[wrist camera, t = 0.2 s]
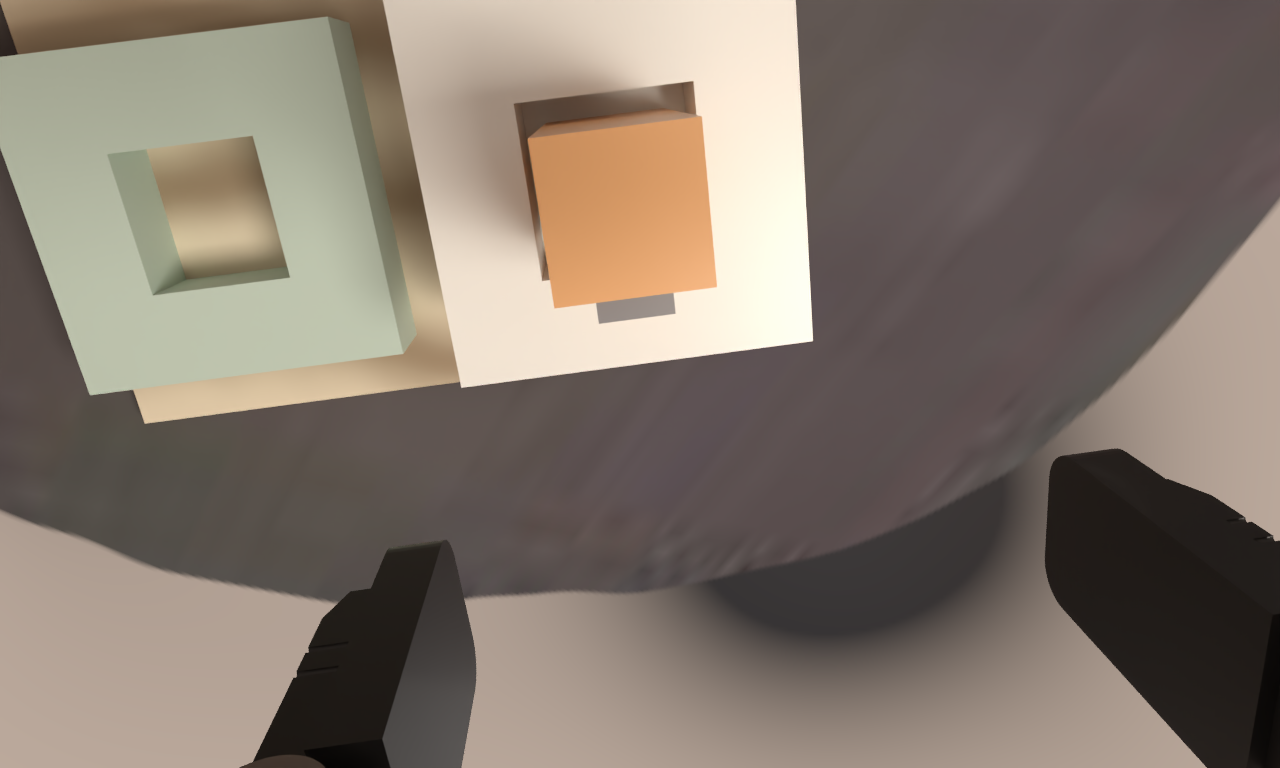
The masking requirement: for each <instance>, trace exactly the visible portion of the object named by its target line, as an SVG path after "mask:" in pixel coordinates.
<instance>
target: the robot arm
mask: <svg viewBox="0 0 1280 768" xmlns="http://www.w3.org/2000/svg"><path fill="white" fill-rule="evenodd" d="M1045 568H1046V574H1047V578H1048V582H1049V584H1050V588H1051V590H1052V592H1053V594H1054V596H1055V598H1056V600H1057V602H1058V603H1059V605H1060V606H1061V607H1062V608H1063V610H1064V611H1065V612H1066V613H1067V614H1068V615H1069V616H1070V617H1071V618H1072V620H1073V621H1074V622H1075V623H1076V624H1077V625H1078V626H1079V627H1080V628H1081V629H1082V631H1083V632H1084V633H1085V634H1086V635H1087V636H1088V637H1089V638H1090V639H1091V640H1092V641H1093V643H1094V644H1095V645H1096V646H1097V647H1098V648H1099V649H1100V650H1101V651H1102V652H1103V654H1104V655H1105V656H1106V657H1107V658H1108V659H1109V660H1110V661H1111V662H1112V664H1113V665H1114V666H1116V668H1117V669H1118V670H1119V671H1120V672H1121V673H1122V675H1124V677H1125V678H1126V679H1127V680H1128V681H1129V682H1130V683H1131V685H1133V687H1134V688H1135V689H1136V690H1137V691H1138V692H1139V693H1140V694H1141V695H1142V697H1143V698H1144V699H1145V700H1146V701H1147V702H1148V703H1149V704H1150V705H1151V707H1152V708H1153V709H1154V710H1155V711H1156V712H1157V713H1158V714H1159V715H1160V716H1161V718H1162V719H1163V720H1164V721H1165V722H1166V723H1167V724H1168V725H1169V726H1170V727H1171V729H1172V730H1173V731H1174V732H1175V733H1176V734H1177V735H1178V736H1179V737H1180V738H1181V740H1182V741H1183V742H1184V743H1185V744H1186V745H1187V746H1188V747H1189V748H1190V749H1191V751H1192V752H1193V753H1194V754H1195V755H1196V756H1197V757H1198V758H1199V759H1200V760H1201V762H1202V763H1203V764H1204V765H1205V766H1206V767H1207V768H1280V541H1274V539H1273V535H1271V534H1269V533H1268V532H1266V531H1265V530H1263V529H1262V528H1260V527H1259V526H1257V525H1256V524H1254V523H1253V522H1248V523H1247V522H1246V520H1245V517H1244V516H1242V515H1241V514H1239V513H1238V512H1236V511H1235V510H1233V509H1231V508H1230V507H1229V506H1227V505H1225V504H1224V503H1223V502H1221V501H1220V500H1218V499H1216V498H1215V497H1213V496H1212V495H1209V494H1207V493H1204V492H1201V491H1199V490H1196V489H1193V488H1191V487H1188V486H1185V485H1182V484H1180V483H1177V482H1174V481H1172V480H1169V479H1165V478H1163V477H1162V476H1160V475H1159V474H1157V473H1156V472H1155V471H1153V470H1152V469H1150V468H1149V467H1147V466H1146V465H1144V464H1143V463H1141V462H1140V461H1139V460H1137V459H1136V458H1134V457H1132V456H1131V455H1130V454H1128V453H1127V452H1125V451H1123V450H1121V449H1109V450H1101V451H1094V452H1087V453H1081V454H1072V455H1065V456H1060V457H1058V458H1057V459H1055V461H1054V462H1053V464H1052V466H1051V470H1050V476H1049V493H1048V511H1047V529H1046V547H1045ZM308 648H309V653H305V655H304V657H303V660H302V661H301V663H300V666H299V668H298V670H297V677H296V678H293V680H292V682H291V684H290V686H289V688H288V691H287V692H286V695H285V697H284V699H283V701H282V703H281V705H280V707H279V709H278V711H277V713H276V715H275V717H274V719H273V721H272V724H271V725H270V728H269V730H268V732H267V734H266V736H265V738H264V740H263V742H262V744H261V746H260V749H259V750H258V753H257V754H256V756H255V759H254V761H253V762H252V763H249V764H247V765H244V766H242V767H240V768H461V766H462V760H463V754H464V749H465V743H466V738H467V732H468V726H469V720H470V715H471V709H472V704H473V698H474V692H475V685H476V657H475V647H474V641H473V636H472V632H471V627H470V623H469V618H468V614H467V610H466V605H465V601H464V596H463V592H462V588H461V583H460V579H459V574H458V570H457V566H456V561H455V557H454V553H453V550H452V548H451V545H450V544H449V542H448V541H447V540H441V541H434V542H427V543H420V544H413V545H405V546H398V547H391V548H389V549H388V550H387V552H386V554H385V556H384V559H383V561H382V563H381V566H380V568H379V571H378V573H377V575H376V578H375V580H374V583H373V585H372V587H371V589H365V590H358V591H351V592H349V593H348V594H347V595H346V596H345V597H344V598H343V599H342V600H341V601H340V602H339V603H338V604H337V605H336V606H335V607H334V608H333V609H332V610H331V611H330V612H329V613H327V614H326V615H325V616H324V617H323V619H322V620H321V622H320V624H319V626H318V629H317V631H316V632H315V635H314V637H313V639H312V641H311V643H310V645H309V647H308Z"/></svg>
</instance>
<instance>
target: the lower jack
mask: <svg viewBox="0 0 1280 768" xmlns="http://www.w3.org/2000/svg"><path fill="white" fill-rule="evenodd" d="M247 136H253V139H254V142H255V146H256V150H257V154H258V158H259V161H260V165H261V169H262V173H263V177H264V180H265V184H266V188H267V192H268V195H269V199H270V203H271V207H272V211H273V214H274V218H275V222H276V226H277V230H278V233H279V237H280V241H281V245H282V249H283V252H284V256H285V260H286V264H287V267H279V268H272V269H264V270H256V271H248V272H241V273H233V274H225V275H218V276H210V277H202V278H194V279H187V280H186V277H185V274H184V271H183V267H182V264H181V261H180V258H179V254H178V251H177V248H176V245H175V241H174V238H173V235H172V232H171V228H170V225H169V222H168V219H167V215H166V212H165V209H164V205H163V202H162V199H161V196H160V192H159V189H158V186H157V183H156V179H155V176H154V173H153V170H152V166H151V163H150V160H149V157H148V153H147V150H146V149H152V148H160V147H168V146H176V145H184V144H192V143H200V142H207V141H215V140H223V139H231V138H239V137H247ZM0 149H1V151H2V154H3V157H4V160H5V162H6V165H7V168H8V171H9V173H10V176H11V179H12V182H13V184H14V187H15V190H16V193H17V195H18V198H19V201H20V204H21V206H22V209H23V212H24V215H25V217H26V220H27V223H28V226H29V228H30V231H31V234H32V237H33V239H34V242H35V245H36V248H37V250H38V253H39V256H40V259H41V261H42V264H43V267H44V270H45V272H46V275H47V278H48V281H49V283H50V286H51V289H52V292H53V294H54V297H55V300H56V303H57V306H58V308H59V311H60V314H61V317H62V319H63V322H64V325H65V328H66V330H67V333H68V336H69V339H70V341H71V344H72V347H73V350H74V352H75V355H76V358H77V361H78V363H79V366H80V369H81V372H82V374H83V377H84V380H85V383H86V385H87V388H88V391H89V394H90V395H95V394H103V393H111V392H118V391H126V390H133V389H141V388H149V387H156V386H164V385H171V384H179V383H187V382H194V381H202V380H209V379H217V378H224V377H232V376H240V375H247V374H255V373H262V372H270V371H278V370H285V369H293V368H300V367H308V366H316V365H323V364H331V363H338V362H346V361H353V360H361V359H369V358H376V357H384V356H391V355H399V354H404V352H405V351H406V349H407V348H408V346H409V345H410V343H411V342H412V341H413V339H414V338H415V336H416V335H417V333H416V328H415V324H414V319H413V314H412V310H411V305H410V301H409V296H408V291H407V287H406V282H405V277H404V273H403V268H402V264H401V259H400V254H399V250H398V245H397V241H396V236H395V231H394V227H393V222H392V218H391V213H390V208H389V204H388V199H387V195H386V190H385V185H384V181H383V176H382V171H381V167H380V162H379V158H378V153H377V148H376V144H375V139H374V135H373V130H372V125H371V121H370V116H369V112H368V107H367V102H366V98H365V93H364V88H363V84H362V79H361V75H360V70H359V65H358V61H357V56H356V52H355V47H354V42H353V38H352V33H351V29H350V24H349V23H348V22H345V21H341V20H338V19H334V18H331V17H320V18H312V19H303V20H295V21H287V22H279V23H271V24H263V25H255V26H247V27H239V28H231V29H222V30H214V31H206V32H198V33H190V34H182V35H174V36H166V37H158V38H149V39H141V40H133V41H125V42H117V43H109V44H101V45H93V46H85V47H77V48H69V49H60V50H52V51H44V52H36V53H28V54H20V55H12V56H4V57H0Z"/></svg>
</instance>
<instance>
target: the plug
mask: <svg viewBox="0 0 1280 768" xmlns="http://www.w3.org/2000/svg"><path fill="white" fill-rule="evenodd" d="M528 144H529V151H530V157H531V163H532V170H533V176H534V182H535V189H536V195H537V202H538V208H539V214H540V221H541V227H542V233H543V240H544V246H545V252H546V259H547V265H548V271H549V278H550V284H551V290H552V297H553V303H554V308H562V307H570V306H577V305H585V304H593V303H596V307H597V314H598V321H599V324H602V323H610V322H617V321H625V320H632V319H640V318H648V317H655V316H663V315H670V314H676V312H675V303H674V293H676V292H684V291H692V290H699V289H707V288H714V287H717V280H716V269H715V258H714V247H713V236H712V224H711V213H710V202H709V191H708V180H707V168H706V157H705V146H704V135H703V124H702V116H698V115H693V114H688V113H684V112H679V111H674V110H670V109H665V108H659V109H651V110H643V111H635V112H627V113H620V114H612V115H604V116H596V117H588V118H580V119H572V120H564V121H556V122H548V123H545V124H544V125H543V126H542V127H541V128H539V129H538V130H537V131H536V132H535V133H534V134H532V135H531V136H530V137H529V138H528Z"/></svg>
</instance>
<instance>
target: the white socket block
mask: <svg viewBox="0 0 1280 768" xmlns="http://www.w3.org/2000/svg"><path fill="white" fill-rule="evenodd" d="M383 3H384V8H385V13H386V18H387V23H388V28H389V33H390V38H391V43H392V48H393V53H394V58H395V63H396V67H397V72H398V77H399V82H400V87H401V92H402V97H403V102H404V107H405V112H406V117H407V122H408V127H409V132H410V137H411V141H412V146H413V151H414V156H415V161H416V166H417V171H418V176H419V181H420V186H421V191H422V196H423V201H424V206H425V210H426V215H427V220H428V225H429V230H430V235H431V240H432V245H433V250H434V255H435V260H436V265H437V270H438V275H439V280H440V284H441V289H442V294H443V299H444V304H445V309H446V314H447V319H448V324H449V329H450V334H451V339H452V344H453V349H454V354H455V358H456V363H457V368H458V373H459V378H460V383H461V388H463V387H470V386H478V385H486V384H493V383H501V382H508V381H516V380H523V379H531V378H538V377H546V376H553V375H561V374H568V373H576V372H583V371H591V370H598V369H606V368H614V367H621V366H629V365H636V364H644V363H651V362H659V361H666V360H674V359H681V358H689V357H696V356H704V355H711V354H719V353H726V352H734V351H742V350H749V349H757V348H764V347H772V346H779V345H787V344H794V343H802V342H809V341H813V332H812V313H811V293H810V274H809V254H808V235H807V215H806V195H805V176H804V156H803V137H802V117H801V97H800V78H799V58H798V39H797V19H796V0H383ZM659 108H665V109H670V110H674V111H679V112H684V113H688V114H693V115H698V116H702V124H703V135H704V146H705V157H706V168H707V180H708V191H709V202H710V213H711V224H712V236H713V247H714V258H715V269H716V280H717V287H714V288H707V289H699V290H692V291H684V292H676V293H674V303H675V312H676V314H670V315H663V316H655V317H648V318H640V319H632V320H625V321H617V322H610V323H602V324H599V321H598V314H597V307H596V303H593V304H585V305H577V306H570V307H562V308H554V303H553V297H552V290H551V284H550V278H549V271H548V265H547V259H546V252H545V246H544V240H543V233H542V227H541V221H540V214H539V208H538V202H537V195H536V189H535V182H534V176H533V170H532V163H531V157H530V151H529V144H528V138H529V137H530V136H531V135H532V134H534V133H535V132H536V131H537V130H538V129H539V128H541V127H542V126H543V125H544V124H545V123H548V122H556V121H564V120H572V119H580V118H588V117H596V116H604V115H612V114H620V113H627V112H635V111H643V110H651V109H659Z"/></svg>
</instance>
